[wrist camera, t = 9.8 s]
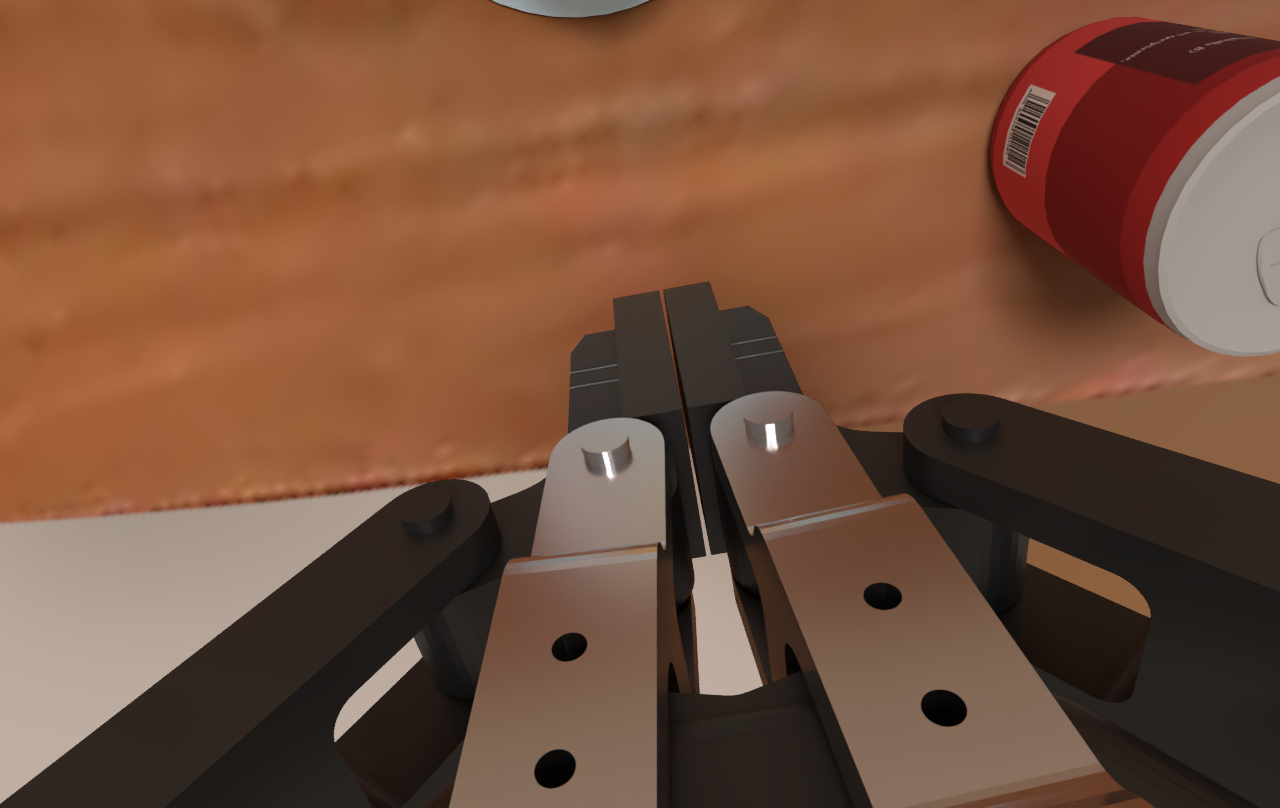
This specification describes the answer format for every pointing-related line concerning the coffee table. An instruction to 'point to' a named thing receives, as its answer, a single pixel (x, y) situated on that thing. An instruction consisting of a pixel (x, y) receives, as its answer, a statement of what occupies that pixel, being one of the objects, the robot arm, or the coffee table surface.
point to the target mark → (571, 6)
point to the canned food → (1156, 171)
